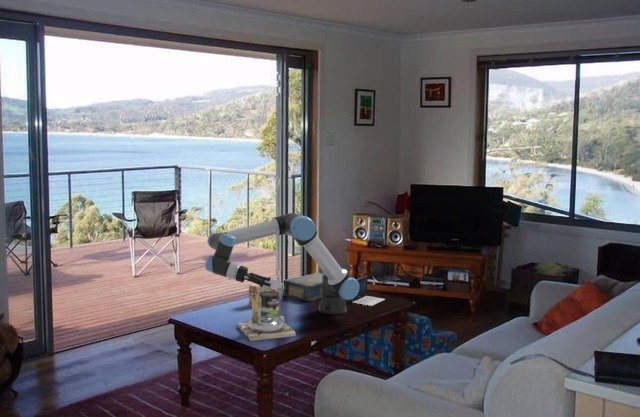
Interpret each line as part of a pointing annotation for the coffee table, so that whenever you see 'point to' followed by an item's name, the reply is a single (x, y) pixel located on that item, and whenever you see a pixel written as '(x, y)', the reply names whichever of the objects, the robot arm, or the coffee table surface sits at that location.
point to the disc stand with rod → (264, 320)
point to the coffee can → (269, 303)
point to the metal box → (304, 287)
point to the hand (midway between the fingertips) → (280, 286)
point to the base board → (261, 336)
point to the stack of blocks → (257, 289)
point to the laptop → (365, 294)
